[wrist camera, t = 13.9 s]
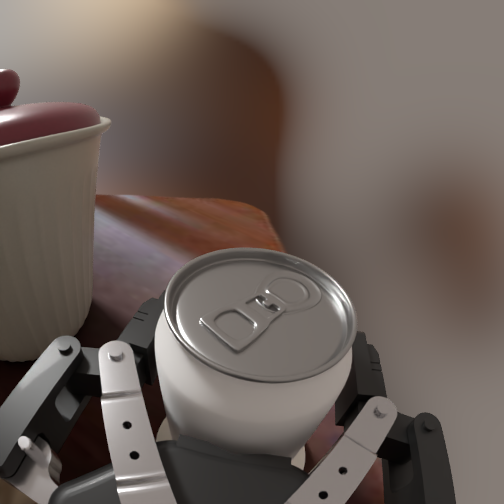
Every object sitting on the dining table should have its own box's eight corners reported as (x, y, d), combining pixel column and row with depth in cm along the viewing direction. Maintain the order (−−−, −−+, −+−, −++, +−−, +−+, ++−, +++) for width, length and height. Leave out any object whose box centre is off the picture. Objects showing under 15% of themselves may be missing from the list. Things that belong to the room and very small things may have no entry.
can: (306, 448, 15) (400, 304, 9) (231, 518, 11) (278, 453, 5) (231, 388, 19) (256, 225, 12) (153, 440, 14) (108, 282, 8)
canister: (-66, 383, 11) (-148, 118, 1) (-10, 266, 26) (-28, 88, 16) (120, 403, 17) (91, 26, 7) (122, 264, 32) (128, 66, 22)
